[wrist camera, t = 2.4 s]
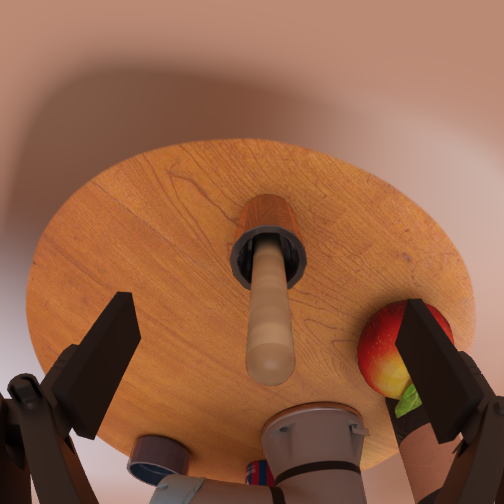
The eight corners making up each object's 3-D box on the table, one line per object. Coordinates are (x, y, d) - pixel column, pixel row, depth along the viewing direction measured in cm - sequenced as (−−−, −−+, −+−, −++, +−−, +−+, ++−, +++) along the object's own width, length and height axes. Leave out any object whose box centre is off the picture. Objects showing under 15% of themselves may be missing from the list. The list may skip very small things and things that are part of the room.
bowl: (195, 465, 47) (190, 492, 42) (143, 457, 48) (135, 483, 42) (188, 437, 43) (181, 468, 38) (129, 428, 44) (119, 456, 38)
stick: (278, 233, 29) (295, 396, 12) (255, 232, 29) (244, 395, 12) (278, 212, 28) (300, 360, 11) (256, 211, 28) (244, 359, 11)
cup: (256, 457, 45) (255, 491, 39) (307, 467, 46) (310, 498, 40) (240, 471, 47) (238, 502, 41) (288, 481, 49) (289, 510, 42)
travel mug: (417, 407, 40) (456, 514, 21) (375, 409, 40) (407, 529, 21) (440, 372, 37) (495, 484, 18) (396, 372, 37) (445, 502, 18)
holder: (293, 246, 30) (304, 295, 22) (239, 245, 30) (230, 293, 22) (296, 195, 28) (310, 226, 20) (239, 193, 28) (229, 224, 20)
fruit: (447, 294, 32) (490, 345, 23) (408, 364, 36) (434, 421, 27) (371, 277, 31) (405, 335, 22) (335, 356, 35) (351, 422, 26)
